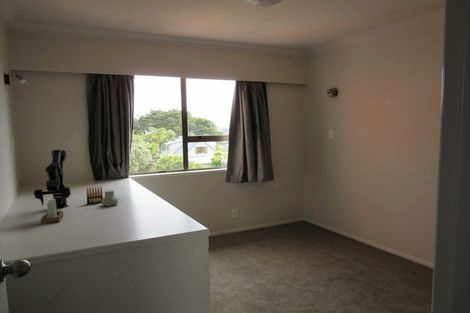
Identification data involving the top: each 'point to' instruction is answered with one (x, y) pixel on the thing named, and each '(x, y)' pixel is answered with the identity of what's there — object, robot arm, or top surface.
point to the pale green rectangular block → (51, 208)
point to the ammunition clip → (94, 195)
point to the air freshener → (109, 198)
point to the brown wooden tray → (52, 220)
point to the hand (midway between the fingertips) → (51, 204)
